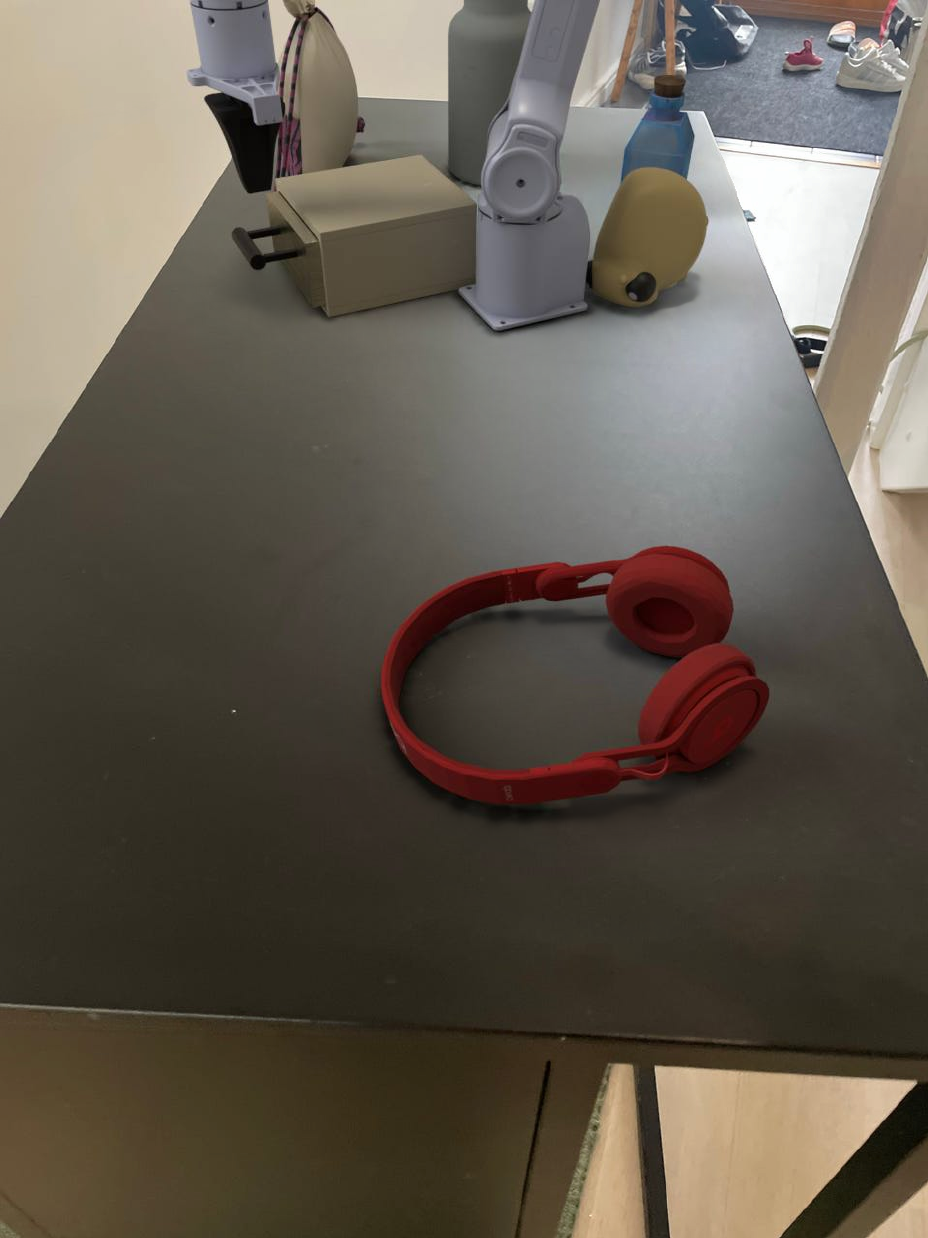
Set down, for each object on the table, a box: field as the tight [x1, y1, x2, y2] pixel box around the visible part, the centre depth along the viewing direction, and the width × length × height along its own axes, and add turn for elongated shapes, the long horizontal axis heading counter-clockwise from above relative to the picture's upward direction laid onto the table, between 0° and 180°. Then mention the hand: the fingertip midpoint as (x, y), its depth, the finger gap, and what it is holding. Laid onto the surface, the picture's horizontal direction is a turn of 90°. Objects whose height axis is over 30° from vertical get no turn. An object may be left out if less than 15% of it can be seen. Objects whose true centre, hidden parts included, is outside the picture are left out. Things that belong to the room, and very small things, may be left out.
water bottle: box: [447, 0, 532, 186], centre depth 95 cm, size 10×10×28 cm
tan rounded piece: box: [585, 167, 710, 308], centre depth 82 cm, size 10×12×11 cm
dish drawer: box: [231, 191, 325, 308], centre depth 83 cm, size 18×11×6 cm, turn 115°
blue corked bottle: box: [619, 74, 696, 185], centre depth 95 cm, size 6×6×12 cm
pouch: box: [272, 0, 366, 192], centre depth 95 cm, size 25×8×19 cm, turn 171°
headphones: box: [380, 545, 770, 806], centre depth 50 cm, size 15×7×20 cm
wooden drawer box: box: [274, 154, 478, 318], centre depth 85 cm, size 15×13×8 cm
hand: (257, 188), depth 77 cm, fingers closed
